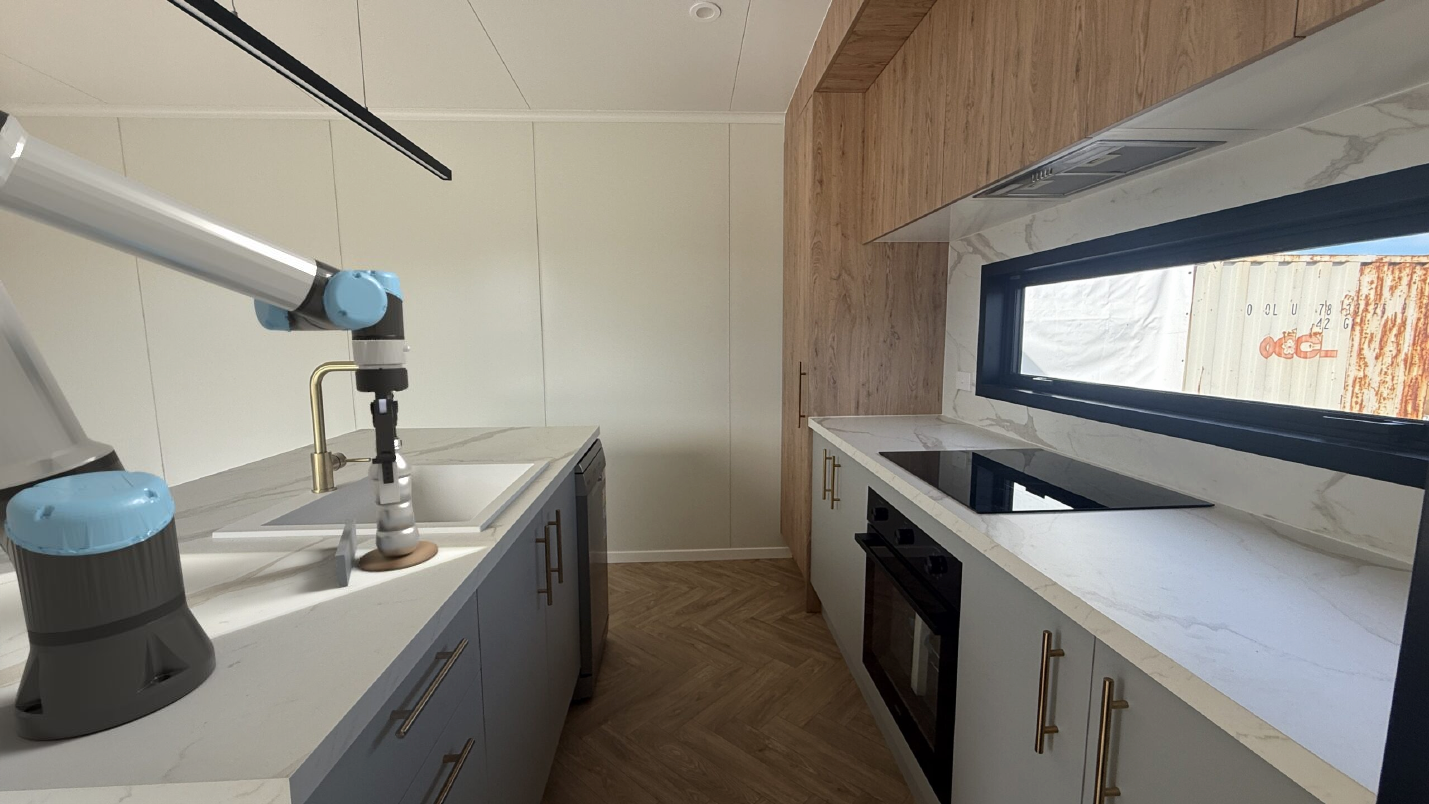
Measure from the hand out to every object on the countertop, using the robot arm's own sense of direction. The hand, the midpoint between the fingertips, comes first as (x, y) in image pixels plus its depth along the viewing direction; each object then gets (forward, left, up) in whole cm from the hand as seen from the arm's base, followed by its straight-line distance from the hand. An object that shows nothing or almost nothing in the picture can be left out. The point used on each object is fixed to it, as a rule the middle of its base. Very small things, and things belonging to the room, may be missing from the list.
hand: (391, 492), depth 98 cm
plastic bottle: (0, 0, -11) cm, 11 cm away
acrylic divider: (-7, +1, -11) cm, 14 cm away
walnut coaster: (0, 0, -11) cm, 11 cm away
